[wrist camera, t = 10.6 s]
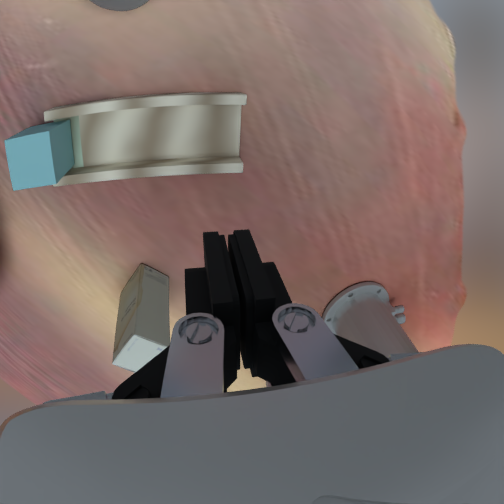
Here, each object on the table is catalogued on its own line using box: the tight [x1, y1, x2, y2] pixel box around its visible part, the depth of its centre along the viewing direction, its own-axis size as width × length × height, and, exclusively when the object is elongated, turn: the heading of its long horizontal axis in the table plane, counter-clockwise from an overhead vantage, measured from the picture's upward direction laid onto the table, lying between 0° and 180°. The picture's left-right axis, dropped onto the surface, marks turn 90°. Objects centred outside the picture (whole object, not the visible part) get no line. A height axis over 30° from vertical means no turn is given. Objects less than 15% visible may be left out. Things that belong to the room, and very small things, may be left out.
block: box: [5, 119, 75, 191], centre depth 25 cm, size 5×5×6 cm
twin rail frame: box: [44, 92, 247, 187], centre depth 29 cm, size 20×8×3 cm, turn 87°
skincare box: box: [112, 264, 170, 373], centre depth 36 cm, size 6×4×12 cm
